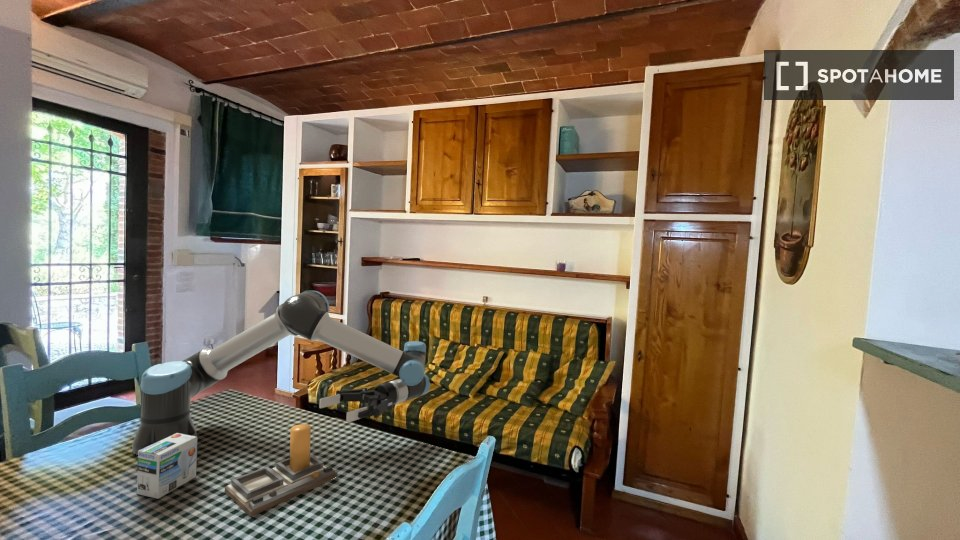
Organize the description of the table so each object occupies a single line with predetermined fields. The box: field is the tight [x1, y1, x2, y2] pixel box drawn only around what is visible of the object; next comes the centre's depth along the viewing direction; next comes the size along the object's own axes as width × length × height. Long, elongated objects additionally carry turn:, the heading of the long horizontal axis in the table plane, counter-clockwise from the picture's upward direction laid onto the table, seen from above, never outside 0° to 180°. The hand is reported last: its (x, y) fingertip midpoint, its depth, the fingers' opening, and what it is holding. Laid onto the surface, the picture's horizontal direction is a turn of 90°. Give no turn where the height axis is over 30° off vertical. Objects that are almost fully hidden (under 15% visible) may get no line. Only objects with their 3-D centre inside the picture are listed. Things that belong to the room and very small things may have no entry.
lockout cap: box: [289, 423, 312, 472], centre depth 111 cm, size 5×5×11 cm
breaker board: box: [224, 453, 338, 517], centre depth 106 cm, size 14×22×3 cm, turn 142°
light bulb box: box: [136, 433, 198, 500], centre depth 103 cm, size 11×7×11 cm, turn 168°
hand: (333, 410), depth 119 cm, fingers open, 13 cm apart
